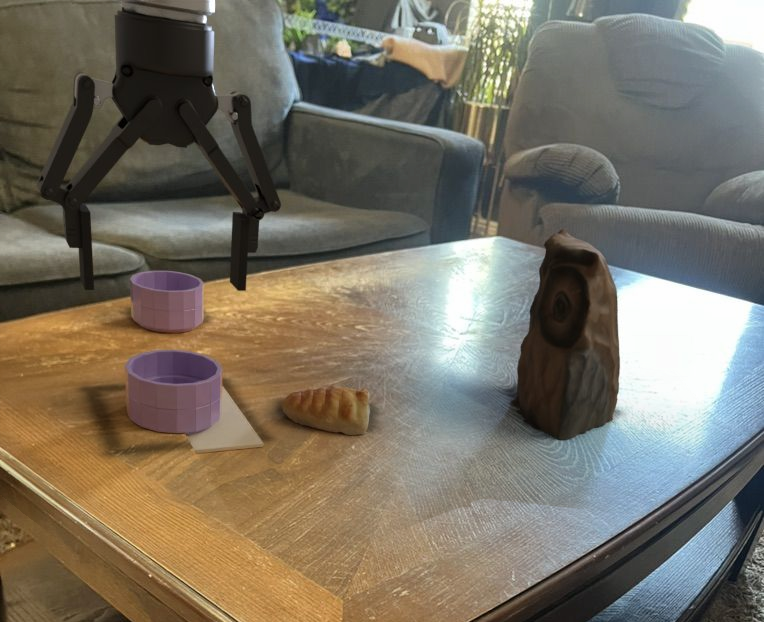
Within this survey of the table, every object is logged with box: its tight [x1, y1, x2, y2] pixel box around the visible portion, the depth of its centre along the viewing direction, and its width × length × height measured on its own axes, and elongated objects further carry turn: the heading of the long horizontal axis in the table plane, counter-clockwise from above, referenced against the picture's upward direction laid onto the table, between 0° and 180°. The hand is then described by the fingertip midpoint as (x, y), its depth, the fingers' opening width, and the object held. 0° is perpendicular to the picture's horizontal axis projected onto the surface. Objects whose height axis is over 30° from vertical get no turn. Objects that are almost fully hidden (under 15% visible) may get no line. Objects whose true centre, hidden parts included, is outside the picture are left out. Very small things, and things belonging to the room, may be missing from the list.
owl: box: [510, 228, 621, 441], centre depth 87 cm, size 13×13×20 cm
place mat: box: [185, 385, 265, 454], centre depth 78 cm, size 14×14×1 cm
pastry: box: [281, 384, 371, 436], centre depth 82 cm, size 9×7×4 cm
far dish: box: [129, 270, 205, 334], centre depth 101 cm, size 9×9×6 cm
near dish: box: [124, 349, 223, 436], centre depth 77 cm, size 9×9×6 cm
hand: (165, 286), depth 71 cm, fingers open, 13 cm apart
